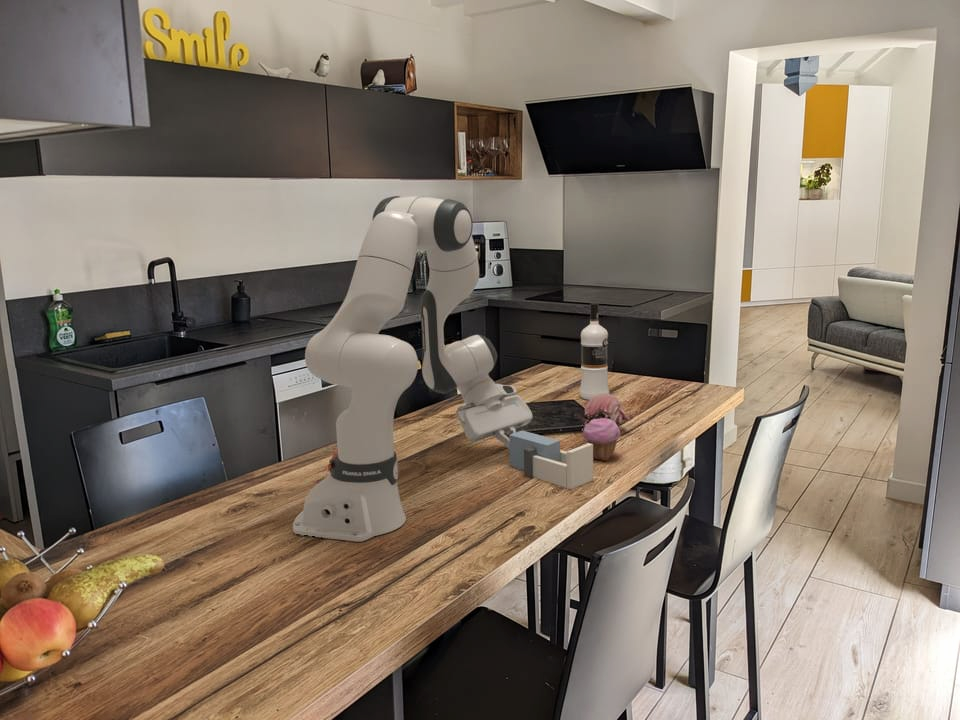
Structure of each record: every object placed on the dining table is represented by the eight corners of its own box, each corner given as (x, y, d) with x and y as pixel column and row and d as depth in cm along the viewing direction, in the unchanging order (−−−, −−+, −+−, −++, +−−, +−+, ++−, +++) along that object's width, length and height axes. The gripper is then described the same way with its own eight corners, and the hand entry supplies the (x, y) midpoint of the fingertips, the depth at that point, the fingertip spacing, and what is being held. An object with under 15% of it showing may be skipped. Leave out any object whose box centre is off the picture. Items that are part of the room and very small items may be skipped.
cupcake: (577, 459, 191) (577, 420, 189) (594, 449, 198) (594, 411, 196) (609, 466, 186) (610, 426, 184) (626, 456, 193) (626, 417, 191)
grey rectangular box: (510, 465, 188) (509, 434, 186) (522, 461, 191) (522, 430, 189) (547, 477, 179) (547, 445, 178) (560, 472, 182) (560, 440, 181)
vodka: (591, 392, 254) (591, 300, 247) (615, 396, 247) (615, 302, 241) (573, 397, 247) (573, 303, 241) (597, 402, 241) (597, 306, 235)
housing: (524, 475, 181) (523, 440, 180) (550, 465, 188) (550, 431, 186) (568, 490, 172) (568, 453, 170) (595, 479, 178) (595, 443, 176)
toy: (628, 438, 201) (638, 419, 215) (615, 400, 200) (626, 383, 213) (585, 448, 206) (597, 428, 220) (572, 410, 205) (585, 393, 218)
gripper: (459, 401, 185) (489, 449, 180) (518, 385, 198) (548, 429, 193) (447, 416, 189) (476, 463, 184) (506, 399, 202) (535, 443, 198)
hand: (513, 446), depth 189 cm, fingers closed, pressing on grey rectangular box
